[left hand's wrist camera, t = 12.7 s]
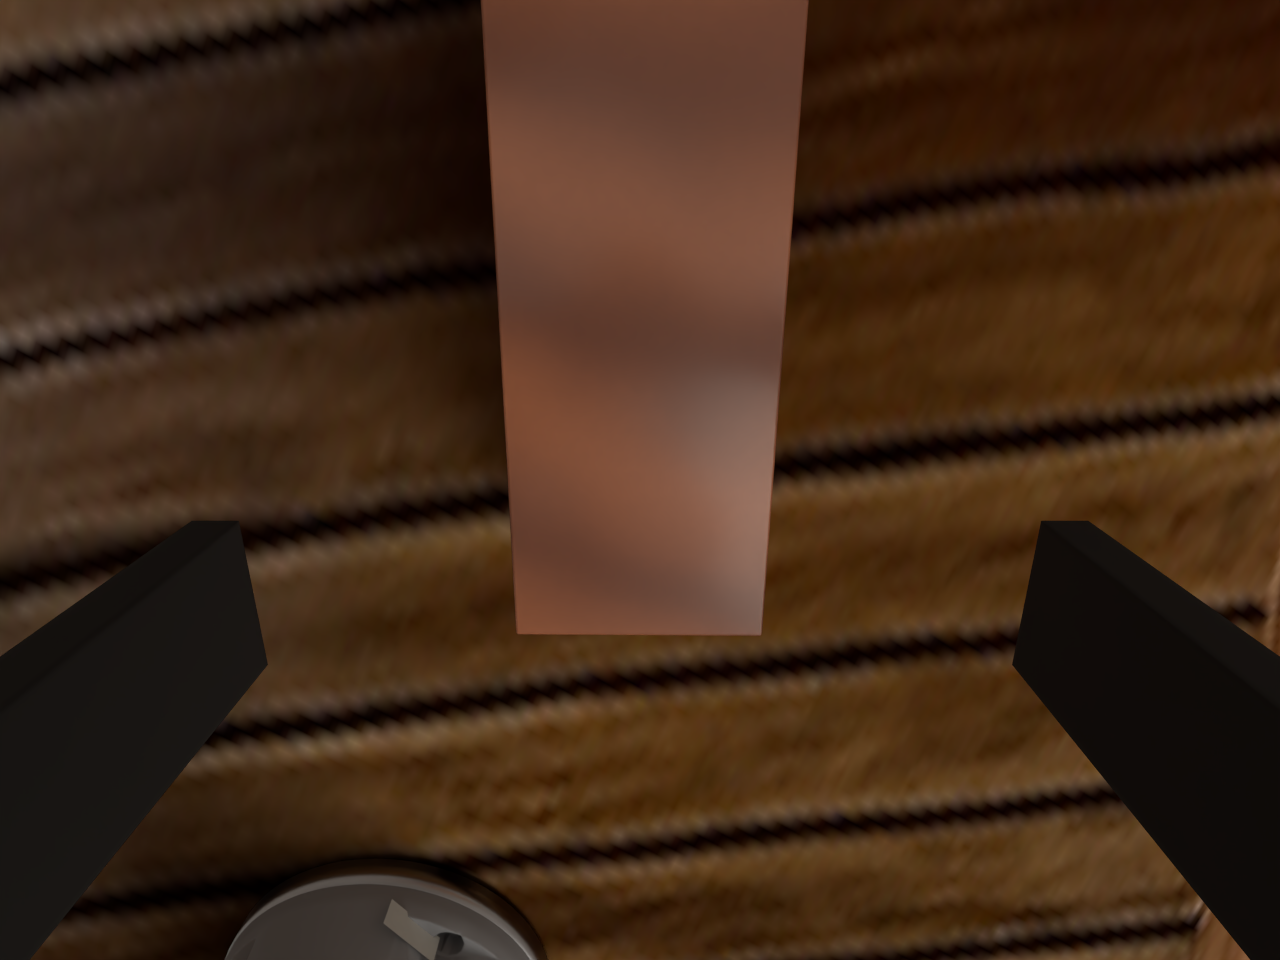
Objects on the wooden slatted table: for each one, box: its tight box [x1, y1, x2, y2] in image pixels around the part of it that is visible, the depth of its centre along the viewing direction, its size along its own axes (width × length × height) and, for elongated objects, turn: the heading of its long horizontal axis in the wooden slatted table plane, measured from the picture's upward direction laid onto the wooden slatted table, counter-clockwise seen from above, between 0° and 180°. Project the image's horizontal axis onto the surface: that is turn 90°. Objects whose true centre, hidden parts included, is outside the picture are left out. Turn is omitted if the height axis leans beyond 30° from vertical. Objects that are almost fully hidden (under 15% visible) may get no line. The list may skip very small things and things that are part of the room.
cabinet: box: [481, 0, 809, 636], centre depth 21 cm, size 17×7×9 cm, turn 0°
